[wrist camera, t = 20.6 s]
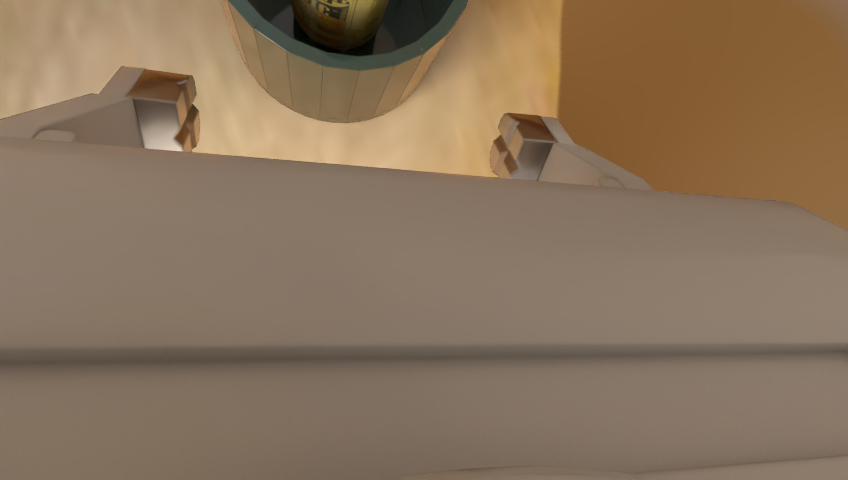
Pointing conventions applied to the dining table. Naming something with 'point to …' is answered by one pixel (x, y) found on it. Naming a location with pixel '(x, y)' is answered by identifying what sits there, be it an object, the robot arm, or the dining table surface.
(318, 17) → the sauce bottle
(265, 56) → the bottle cooler
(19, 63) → the dining table surface
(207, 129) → the dining table surface
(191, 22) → the dining table surface
